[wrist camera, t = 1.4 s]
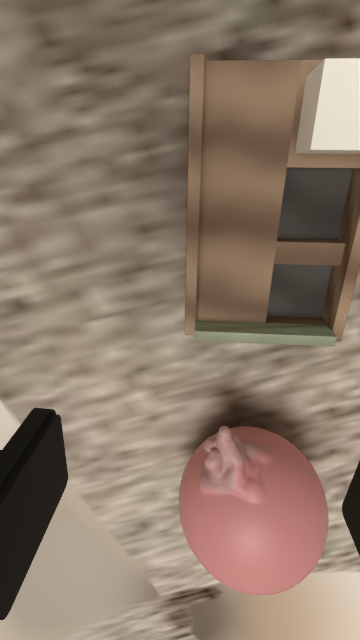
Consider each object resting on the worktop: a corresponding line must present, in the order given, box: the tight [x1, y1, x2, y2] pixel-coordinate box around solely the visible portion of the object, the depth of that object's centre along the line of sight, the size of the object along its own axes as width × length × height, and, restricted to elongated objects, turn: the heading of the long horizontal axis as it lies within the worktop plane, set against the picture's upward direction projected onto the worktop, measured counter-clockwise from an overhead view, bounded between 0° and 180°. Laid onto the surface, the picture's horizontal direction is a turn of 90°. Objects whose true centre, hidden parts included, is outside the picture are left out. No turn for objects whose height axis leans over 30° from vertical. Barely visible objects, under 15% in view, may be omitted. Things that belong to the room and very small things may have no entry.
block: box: [295, 58, 360, 154], centre depth 22 cm, size 5×5×4 cm
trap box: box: [185, 54, 360, 346], centre depth 27 cm, size 22×15×4 cm
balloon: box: [179, 426, 328, 595], centre depth 33 cm, size 15×20×15 cm
